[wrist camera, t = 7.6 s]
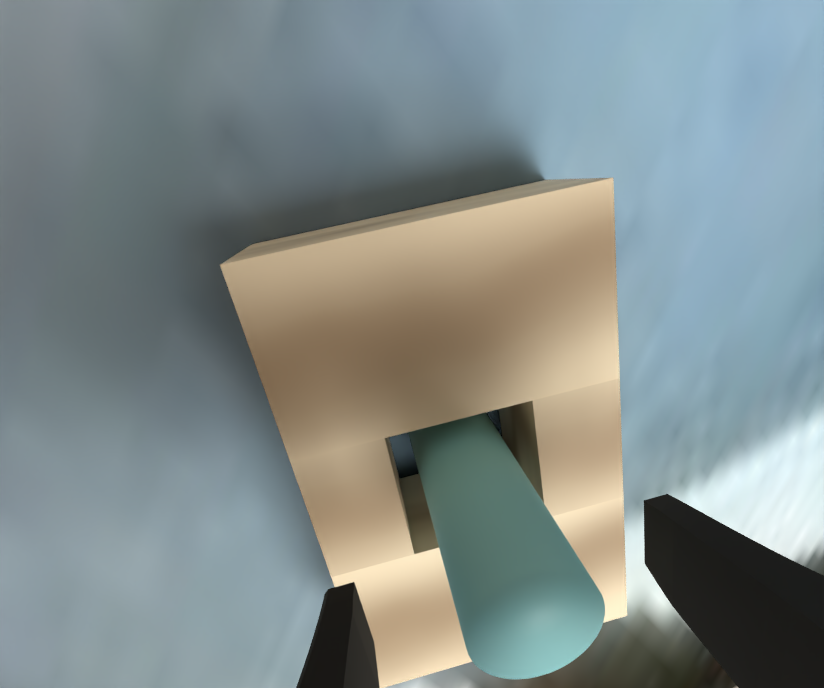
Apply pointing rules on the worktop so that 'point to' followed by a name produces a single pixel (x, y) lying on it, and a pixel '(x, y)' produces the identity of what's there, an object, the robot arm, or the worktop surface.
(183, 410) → the worktop surface
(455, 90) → the worktop surface
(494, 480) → the peg
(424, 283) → the hole block
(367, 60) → the worktop surface
